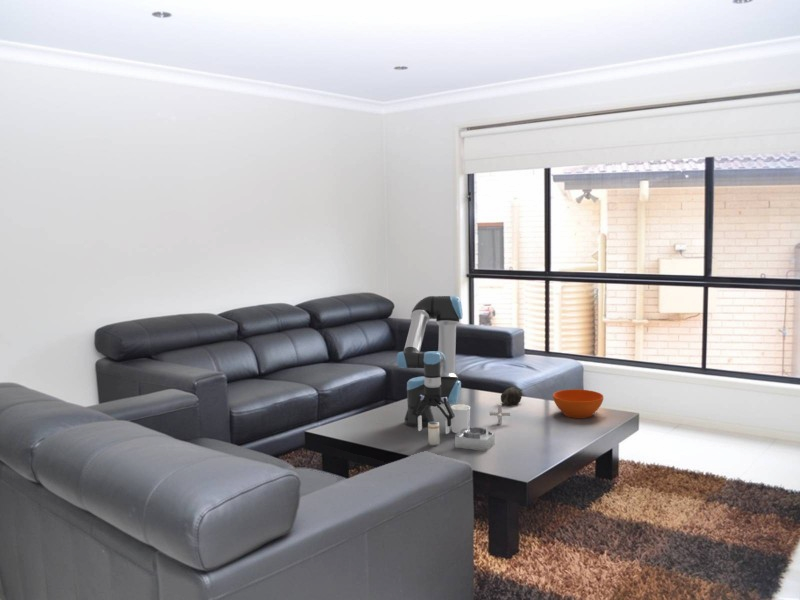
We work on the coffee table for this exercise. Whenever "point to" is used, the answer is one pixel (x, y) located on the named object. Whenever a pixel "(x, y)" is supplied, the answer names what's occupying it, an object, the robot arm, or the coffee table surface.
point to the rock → (511, 396)
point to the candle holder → (460, 417)
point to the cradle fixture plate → (475, 439)
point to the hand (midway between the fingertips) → (433, 431)
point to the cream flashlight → (433, 433)
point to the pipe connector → (500, 413)
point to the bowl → (578, 402)
